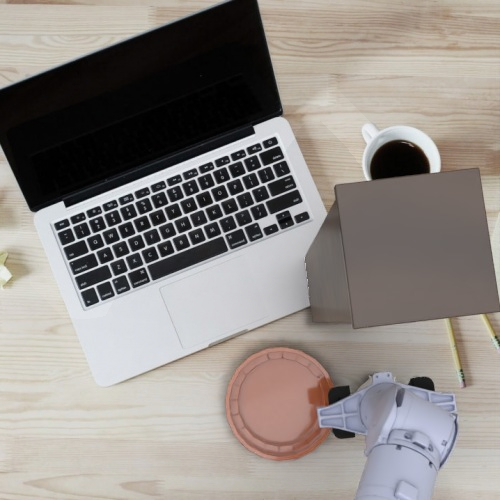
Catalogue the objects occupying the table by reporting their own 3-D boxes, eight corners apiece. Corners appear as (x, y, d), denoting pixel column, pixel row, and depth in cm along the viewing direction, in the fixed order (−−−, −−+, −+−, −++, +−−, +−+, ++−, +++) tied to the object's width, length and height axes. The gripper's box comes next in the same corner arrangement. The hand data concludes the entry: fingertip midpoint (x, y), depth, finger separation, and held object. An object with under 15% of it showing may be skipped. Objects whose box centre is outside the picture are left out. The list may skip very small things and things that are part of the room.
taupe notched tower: (379, 316, 88) (501, 312, 41) (309, 324, 88) (353, 329, 41) (370, 247, 89) (479, 166, 42) (301, 255, 89) (334, 184, 42)
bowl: (340, 448, 86) (343, 453, 83) (233, 460, 87) (232, 466, 83) (326, 340, 88) (329, 341, 84) (221, 352, 88) (219, 354, 84)
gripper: (461, 366, 71) (431, 359, 84) (316, 383, 71) (309, 373, 85) (472, 438, 70) (439, 419, 84) (325, 455, 70) (316, 433, 84)
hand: (374, 400), depth 84 cm, fingers closed on toy creature, 6 cm apart
